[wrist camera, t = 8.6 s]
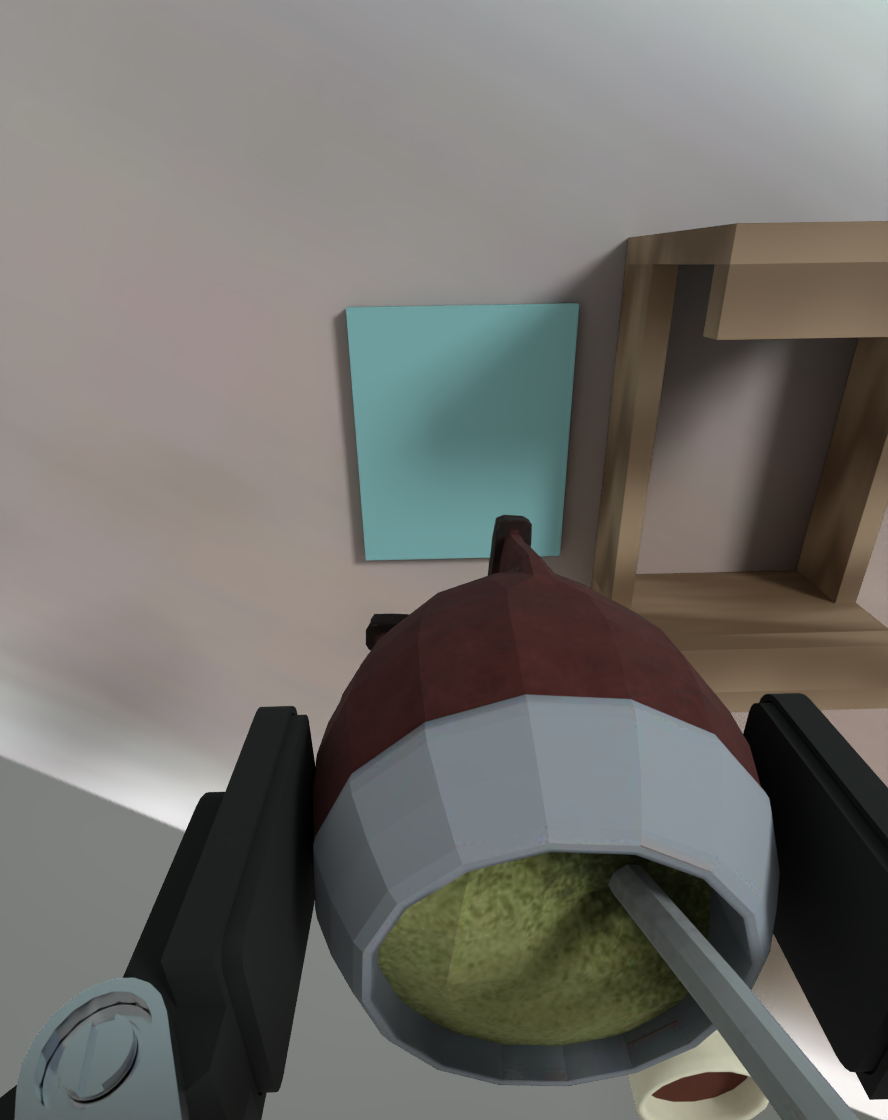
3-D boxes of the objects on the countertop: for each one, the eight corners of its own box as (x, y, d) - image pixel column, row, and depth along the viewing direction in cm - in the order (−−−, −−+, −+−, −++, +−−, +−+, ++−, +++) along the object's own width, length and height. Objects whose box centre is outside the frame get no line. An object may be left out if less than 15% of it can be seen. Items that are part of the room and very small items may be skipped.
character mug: (575, 831, 41) (634, 1055, 29) (681, 817, 41) (783, 1039, 29) (585, 930, 46) (637, 1158, 34) (679, 919, 46) (766, 1145, 34)
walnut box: (809, 586, 33) (951, 706, 24) (591, 591, 33) (652, 714, 24) (910, 233, 26) (1169, 216, 17) (628, 237, 26) (737, 223, 17)
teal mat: (557, 550, 32) (559, 555, 31) (366, 555, 32) (365, 560, 31) (576, 303, 27) (579, 303, 26) (347, 306, 26) (345, 307, 26)
